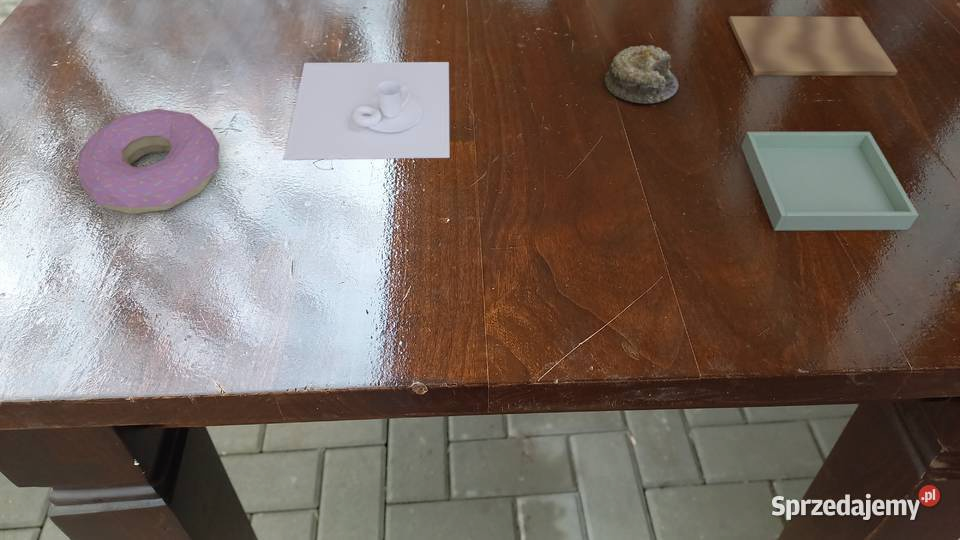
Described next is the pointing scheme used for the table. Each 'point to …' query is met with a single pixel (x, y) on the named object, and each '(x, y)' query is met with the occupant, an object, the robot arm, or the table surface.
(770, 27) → the mat
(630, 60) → the cake
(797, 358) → the table surface
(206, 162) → the donut
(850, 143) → the tray
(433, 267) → the table surface
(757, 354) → the table surface
